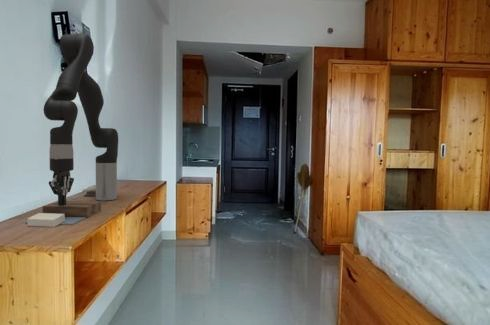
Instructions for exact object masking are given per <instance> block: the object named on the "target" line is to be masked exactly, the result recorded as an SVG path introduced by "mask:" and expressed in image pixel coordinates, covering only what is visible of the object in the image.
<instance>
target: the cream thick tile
mask: <svg viewBox="0 0 490 325" xmlns="http://www.w3.org/2000/svg"><path fill="white" fill-rule="evenodd" d="M26 220H27V221H26V222H27V223H28V224H27V226H28V227H50V228H55V227H57V226H59V224H60V223H62V222H64V221H65V214H55V213H43V212H38V213H36V214H34V215H32V216H30V217H28V218H27V219H26Z"/></svg>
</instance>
